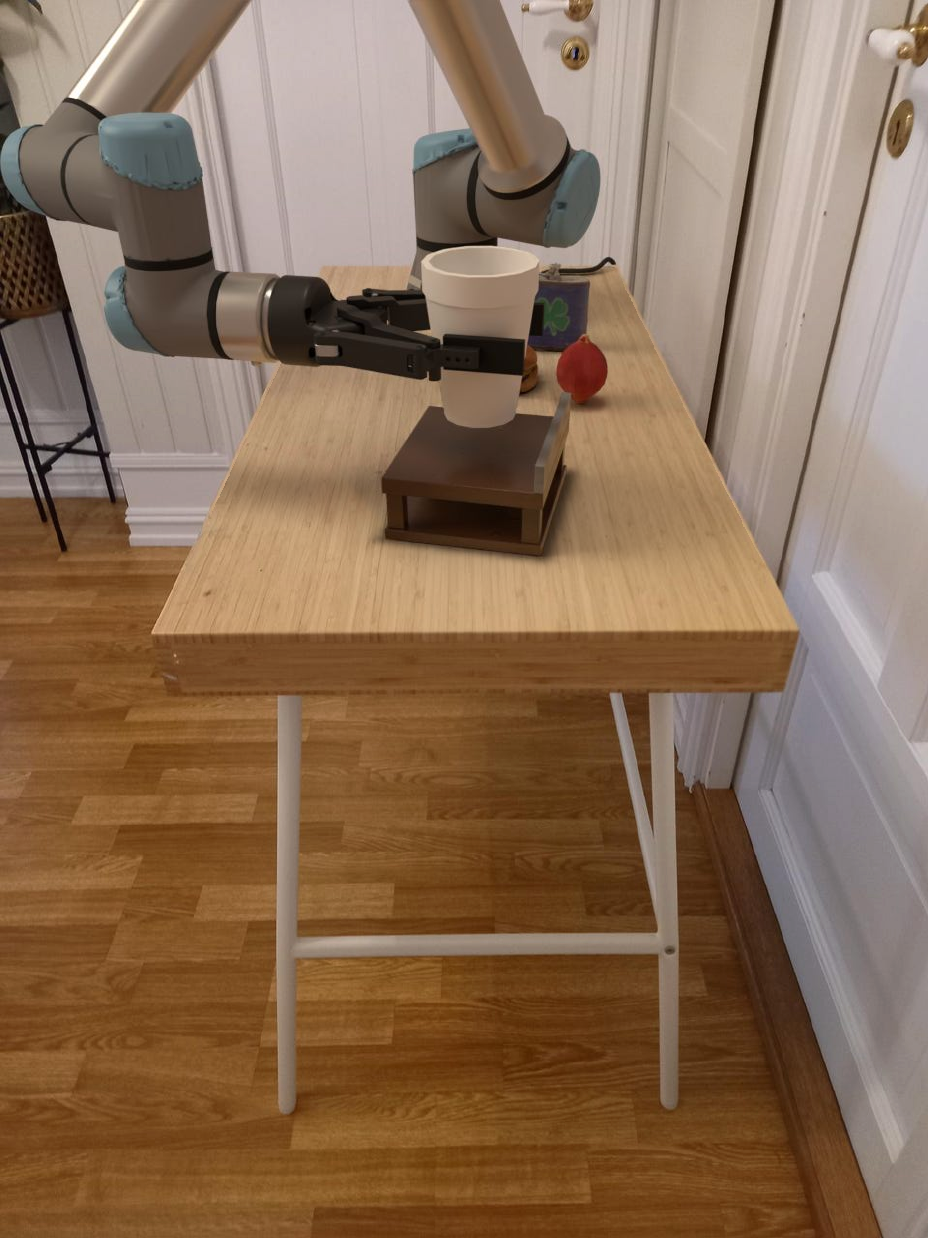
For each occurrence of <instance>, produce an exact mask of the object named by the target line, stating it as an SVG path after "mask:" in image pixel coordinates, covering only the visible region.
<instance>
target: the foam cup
mask: <svg viewBox="0 0 928 1238" xmlns="http://www.w3.org/2000/svg"><path fill="white" fill-rule="evenodd" d="M421 269H422V292H423V293H424V295H425V297H426V303H427V309H428V316H429V322H430V328H431V330H430V334H431V335H430V336H432V337H435V338H439V339H440V344H443V336H444V334H457V335H472V336H486V337H500V338H514V339H525V355H526V349H527V342H528V336H529V330H530V324H531V318H532V311H533V305H534V299H535V295H536V294H537V292H538V286H539V272H540V259H539V258H538V257H537V256H536V255H535V254H533V253H531V252H529V251H525V250H522V249H519V248H513V247H505V246H498V247H497V246H464V247H457V248H449V249H443V250H440V251H437V252H434V253H431V254H428V255H427V256H426V257H425V258H424V259H423V260H422V261H421ZM521 380H522V376H518V375H505V374H492V373H479V372H466V371H454V370H443V367H441V380H439V381H438V385H439V392H440V397H441V404H442V407H443V408H444V414H445V416H446V418H447V420H449V421H451V422H453V423H454V424H456V425H460V426H465V427H470V428H490V427H495V426H500V425H504V424H506V423H507V422H509V421H511V420H513V419H514V416H515V414H516V413H517V407H518V403H519V397H520V393H521V392H520V386H521Z"/></svg>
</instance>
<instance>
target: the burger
mask: <svg viewBox="0 0 928 1238" xmlns="http://www.w3.org/2000/svg"><path fill="white" fill-rule="evenodd" d="M538 373H539V365H538V355H537V352H536V351H535V350H533V349H532V348H531V347H530V346H528V345H527V349H526V355H525V361H524V374H523V376H522V380H521V386H520V392H519V393H526V392H529V391H530V390H532V389H533V388H535V387H536V385H537V384H538Z"/></svg>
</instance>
